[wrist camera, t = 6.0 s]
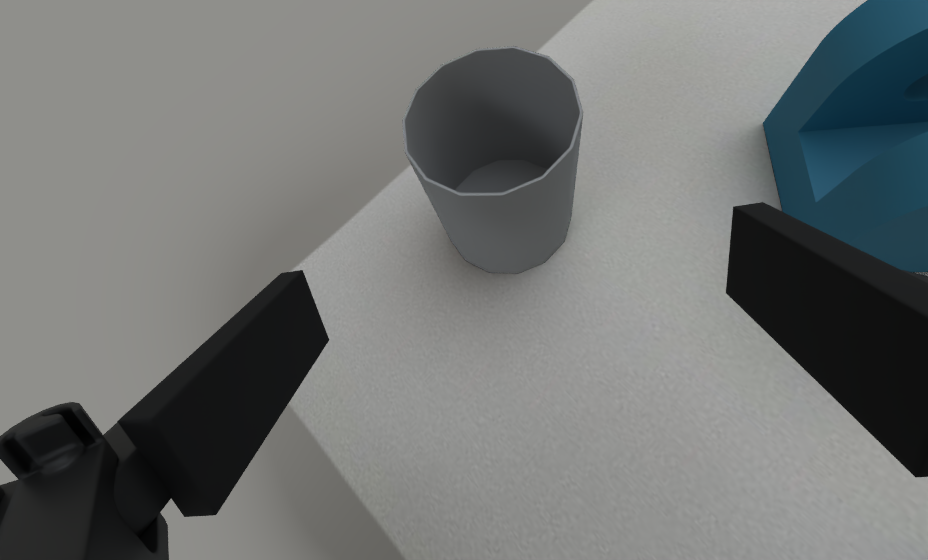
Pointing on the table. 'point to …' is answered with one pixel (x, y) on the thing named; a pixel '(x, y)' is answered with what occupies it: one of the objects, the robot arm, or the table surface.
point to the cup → (498, 154)
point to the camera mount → (861, 134)
